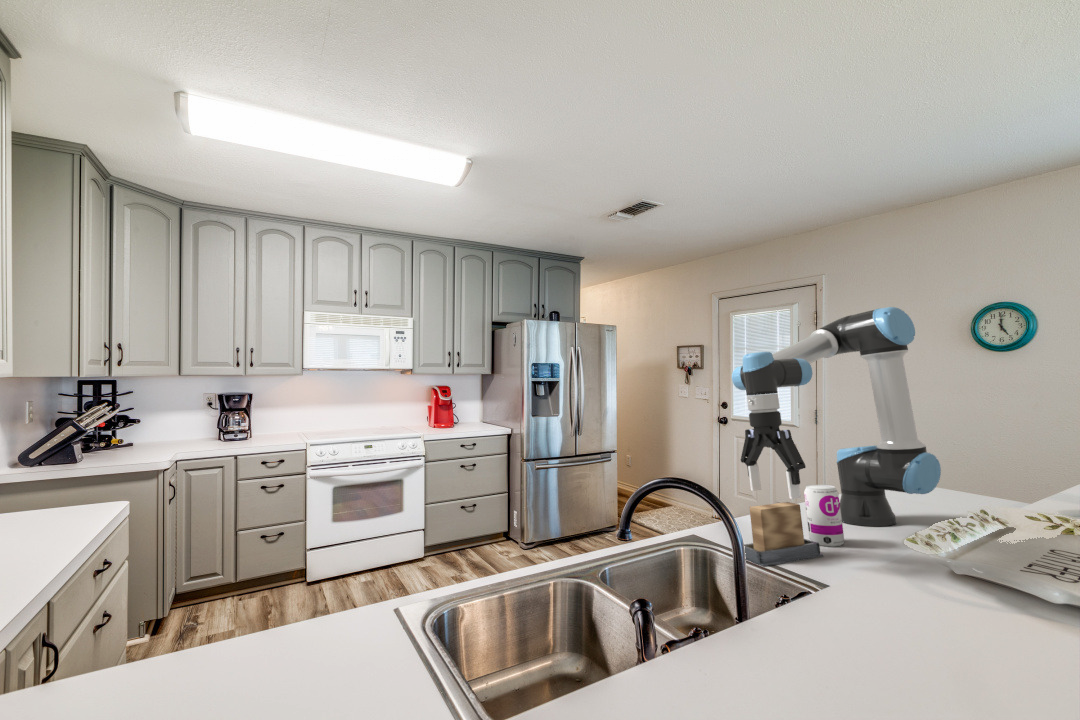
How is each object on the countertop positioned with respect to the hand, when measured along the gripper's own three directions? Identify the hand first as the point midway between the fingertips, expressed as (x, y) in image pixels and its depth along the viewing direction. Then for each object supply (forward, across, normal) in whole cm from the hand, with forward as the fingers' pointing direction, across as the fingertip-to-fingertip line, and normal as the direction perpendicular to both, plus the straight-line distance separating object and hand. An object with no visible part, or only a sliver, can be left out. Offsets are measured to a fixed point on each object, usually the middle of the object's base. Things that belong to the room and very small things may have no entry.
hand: (774, 494), depth 122 cm
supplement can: (+16, -4, +18) cm, 25 cm away
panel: (+15, 0, -1) cm, 15 cm away
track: (+15, 0, -1) cm, 15 cm away
